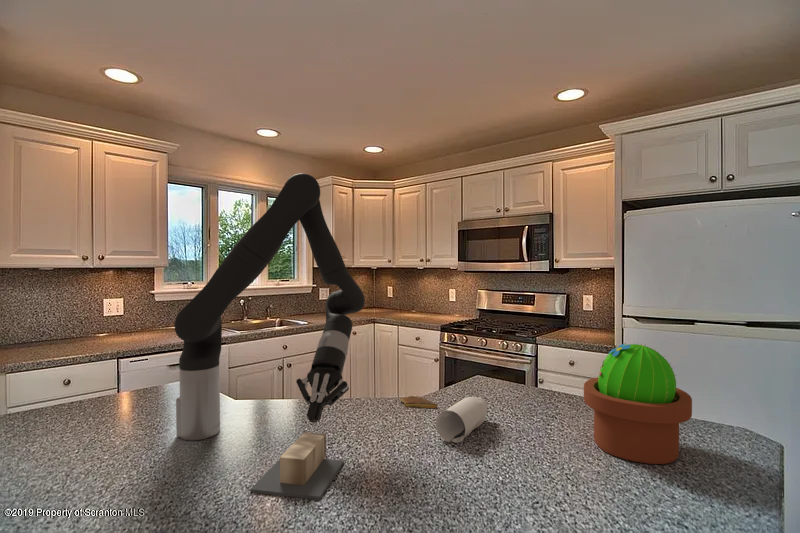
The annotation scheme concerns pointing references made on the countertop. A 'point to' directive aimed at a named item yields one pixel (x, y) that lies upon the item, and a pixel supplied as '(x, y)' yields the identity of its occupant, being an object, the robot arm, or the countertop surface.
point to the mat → (309, 490)
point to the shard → (417, 402)
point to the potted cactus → (637, 406)
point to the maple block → (302, 458)
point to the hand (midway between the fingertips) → (312, 421)
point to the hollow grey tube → (461, 418)
